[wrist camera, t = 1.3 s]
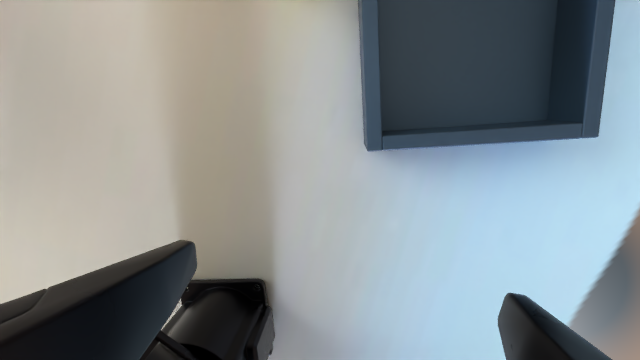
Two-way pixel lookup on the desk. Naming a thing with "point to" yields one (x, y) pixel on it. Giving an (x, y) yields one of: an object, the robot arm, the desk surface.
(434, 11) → the tote
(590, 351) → the robot arm
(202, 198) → the desk surface
